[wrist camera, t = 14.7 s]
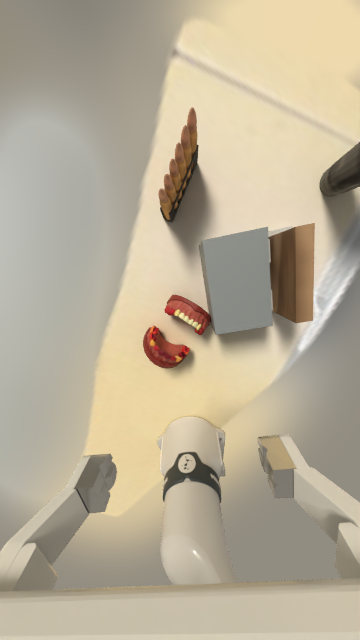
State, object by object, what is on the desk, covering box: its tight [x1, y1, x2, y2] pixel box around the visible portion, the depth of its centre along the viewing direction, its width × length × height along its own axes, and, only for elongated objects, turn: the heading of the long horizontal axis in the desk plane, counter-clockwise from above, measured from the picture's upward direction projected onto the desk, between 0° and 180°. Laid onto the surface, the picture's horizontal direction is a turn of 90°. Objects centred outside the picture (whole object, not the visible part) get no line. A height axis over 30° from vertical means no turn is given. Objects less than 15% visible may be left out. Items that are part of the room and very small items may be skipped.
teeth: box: [143, 295, 211, 368], centre depth 37 cm, size 10×8×15 cm
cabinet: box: [199, 227, 292, 335], centre depth 33 cm, size 16×18×8 cm
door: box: [268, 223, 315, 323], centre depth 31 cm, size 4×14×10 cm, turn 11°
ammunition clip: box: [159, 107, 198, 222], centre depth 27 cm, size 11×2×12 cm, turn 154°
